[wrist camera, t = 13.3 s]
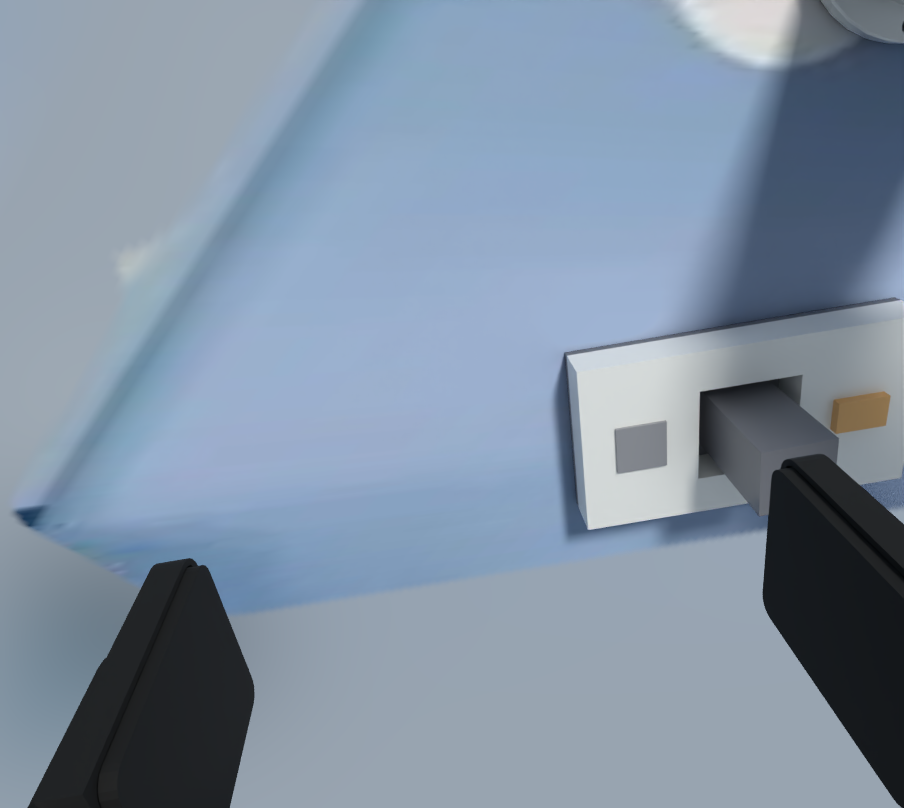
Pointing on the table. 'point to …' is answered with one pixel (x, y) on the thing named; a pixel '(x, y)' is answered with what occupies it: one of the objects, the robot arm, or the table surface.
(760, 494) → the block
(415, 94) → the table surface
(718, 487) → the switch panel
